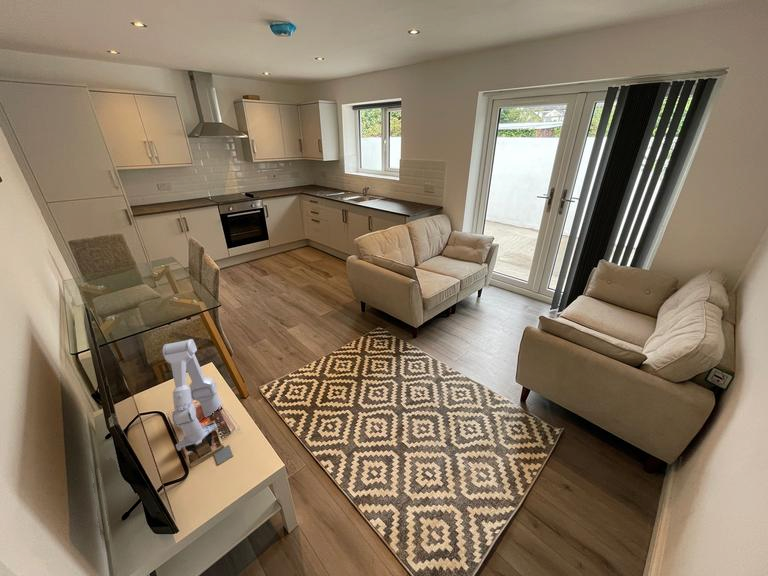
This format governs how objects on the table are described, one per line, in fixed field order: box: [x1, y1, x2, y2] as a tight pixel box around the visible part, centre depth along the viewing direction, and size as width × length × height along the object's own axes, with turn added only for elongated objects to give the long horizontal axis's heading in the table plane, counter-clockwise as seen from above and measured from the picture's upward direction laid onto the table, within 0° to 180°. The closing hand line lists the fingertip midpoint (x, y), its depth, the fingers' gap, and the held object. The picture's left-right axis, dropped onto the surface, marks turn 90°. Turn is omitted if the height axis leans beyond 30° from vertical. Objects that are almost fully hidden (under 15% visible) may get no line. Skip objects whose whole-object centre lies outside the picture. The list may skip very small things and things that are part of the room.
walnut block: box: [194, 437, 213, 458], centre depth 127 cm, size 4×4×6 cm
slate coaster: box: [213, 444, 234, 466], centre depth 126 cm, size 6×6×1 cm
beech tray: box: [181, 420, 225, 469], centre depth 130 cm, size 15×13×2 cm
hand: (204, 448), depth 127 cm, fingers closed on walnut block, 4 cm apart
